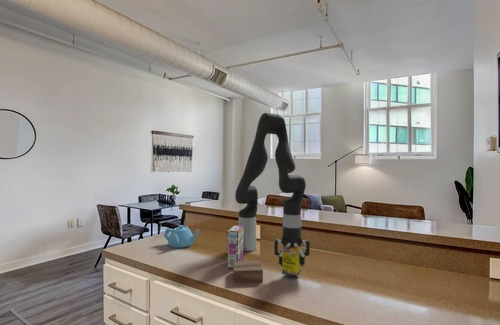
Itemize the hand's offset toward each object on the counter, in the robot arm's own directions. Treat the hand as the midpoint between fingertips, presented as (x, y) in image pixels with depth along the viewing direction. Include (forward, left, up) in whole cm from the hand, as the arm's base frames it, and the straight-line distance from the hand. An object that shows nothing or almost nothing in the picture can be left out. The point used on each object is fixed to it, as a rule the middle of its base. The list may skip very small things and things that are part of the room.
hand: (291, 265), depth 117 cm
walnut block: (+1, -18, -5) cm, 19 cm away
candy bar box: (-13, -24, -5) cm, 27 cm away
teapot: (-42, -57, -5) cm, 71 cm away
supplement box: (0, 0, -3) cm, 3 cm away
